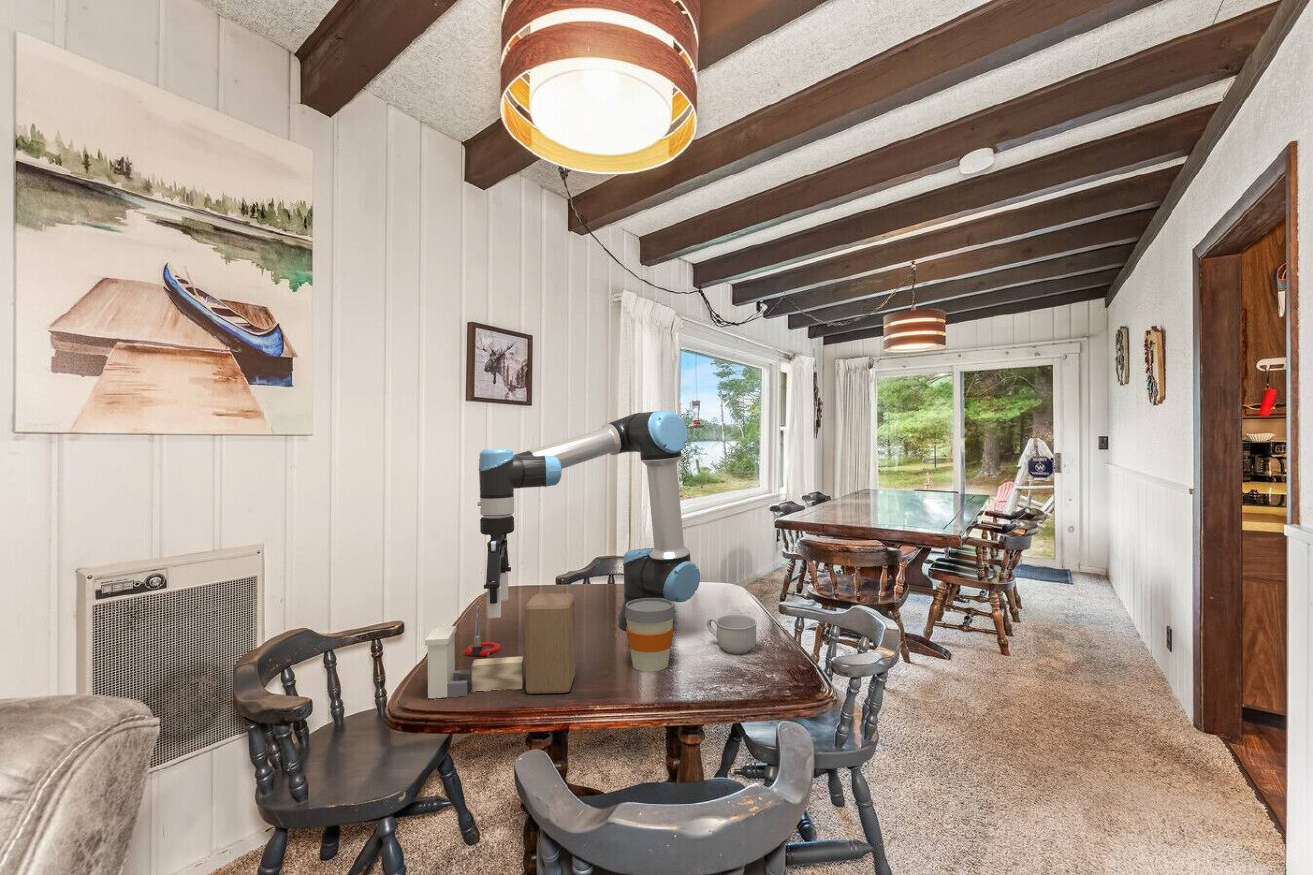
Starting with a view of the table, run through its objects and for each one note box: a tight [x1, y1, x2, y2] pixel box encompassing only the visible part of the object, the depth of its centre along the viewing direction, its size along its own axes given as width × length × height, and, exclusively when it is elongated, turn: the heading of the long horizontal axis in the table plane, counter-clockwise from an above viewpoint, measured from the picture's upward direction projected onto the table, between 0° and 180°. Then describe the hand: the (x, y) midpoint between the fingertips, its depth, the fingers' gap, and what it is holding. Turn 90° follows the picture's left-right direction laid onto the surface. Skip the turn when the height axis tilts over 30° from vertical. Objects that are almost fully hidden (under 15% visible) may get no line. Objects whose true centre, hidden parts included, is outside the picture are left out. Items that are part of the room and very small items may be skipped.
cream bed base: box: [424, 625, 468, 699], centre depth 127 cm, size 8×9×13 cm
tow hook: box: [463, 605, 501, 657], centre depth 152 cm, size 8×13×9 cm
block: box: [524, 592, 576, 695], centre depth 129 cm, size 10×10×20 cm
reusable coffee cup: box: [625, 598, 676, 673], centre depth 141 cm, size 13×13×15 cm
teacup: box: [706, 613, 757, 655], centre depth 151 cm, size 14×11×8 cm
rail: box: [458, 655, 525, 693], centre depth 128 cm, size 14×4×6 cm, turn 98°
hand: (498, 608), depth 129 cm, fingers open, 13 cm apart
